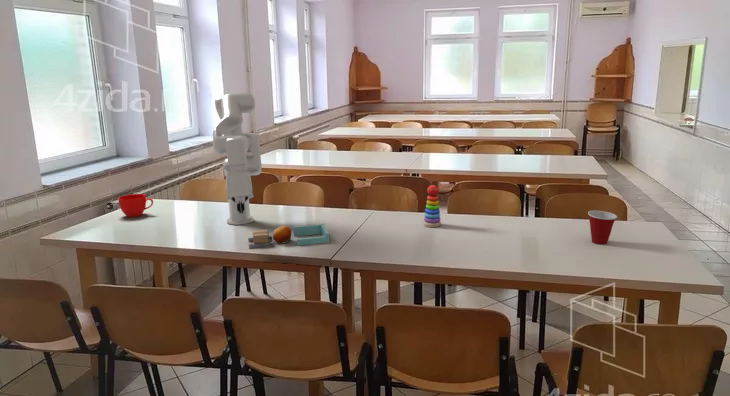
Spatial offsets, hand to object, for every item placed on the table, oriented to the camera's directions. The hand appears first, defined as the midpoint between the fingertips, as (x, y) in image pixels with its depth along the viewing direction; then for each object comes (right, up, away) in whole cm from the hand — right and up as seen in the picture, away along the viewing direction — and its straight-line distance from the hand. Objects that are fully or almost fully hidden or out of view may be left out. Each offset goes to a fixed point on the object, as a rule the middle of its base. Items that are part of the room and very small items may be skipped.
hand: (241, 212), depth 220 cm
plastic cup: (+145, -12, -5) cm, 146 cm away
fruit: (+16, -13, +7) cm, 22 cm away
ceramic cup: (-66, -3, +56) cm, 86 cm away
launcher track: (+7, -13, +5) cm, 16 cm away
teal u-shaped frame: (+28, -12, +10) cm, 31 cm away
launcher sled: (+7, -13, +5) cm, 16 cm away
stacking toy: (+81, -7, +25) cm, 85 cm away
